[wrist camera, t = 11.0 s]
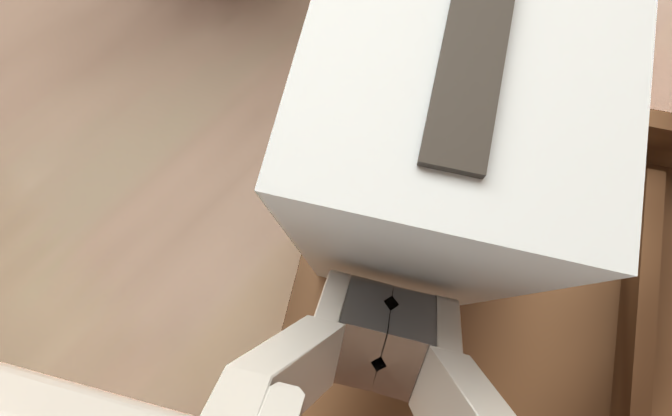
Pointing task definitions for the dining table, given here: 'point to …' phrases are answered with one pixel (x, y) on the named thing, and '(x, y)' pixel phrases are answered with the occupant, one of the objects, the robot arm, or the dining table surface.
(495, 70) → the key one
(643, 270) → the rail board
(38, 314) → the dining table surface
